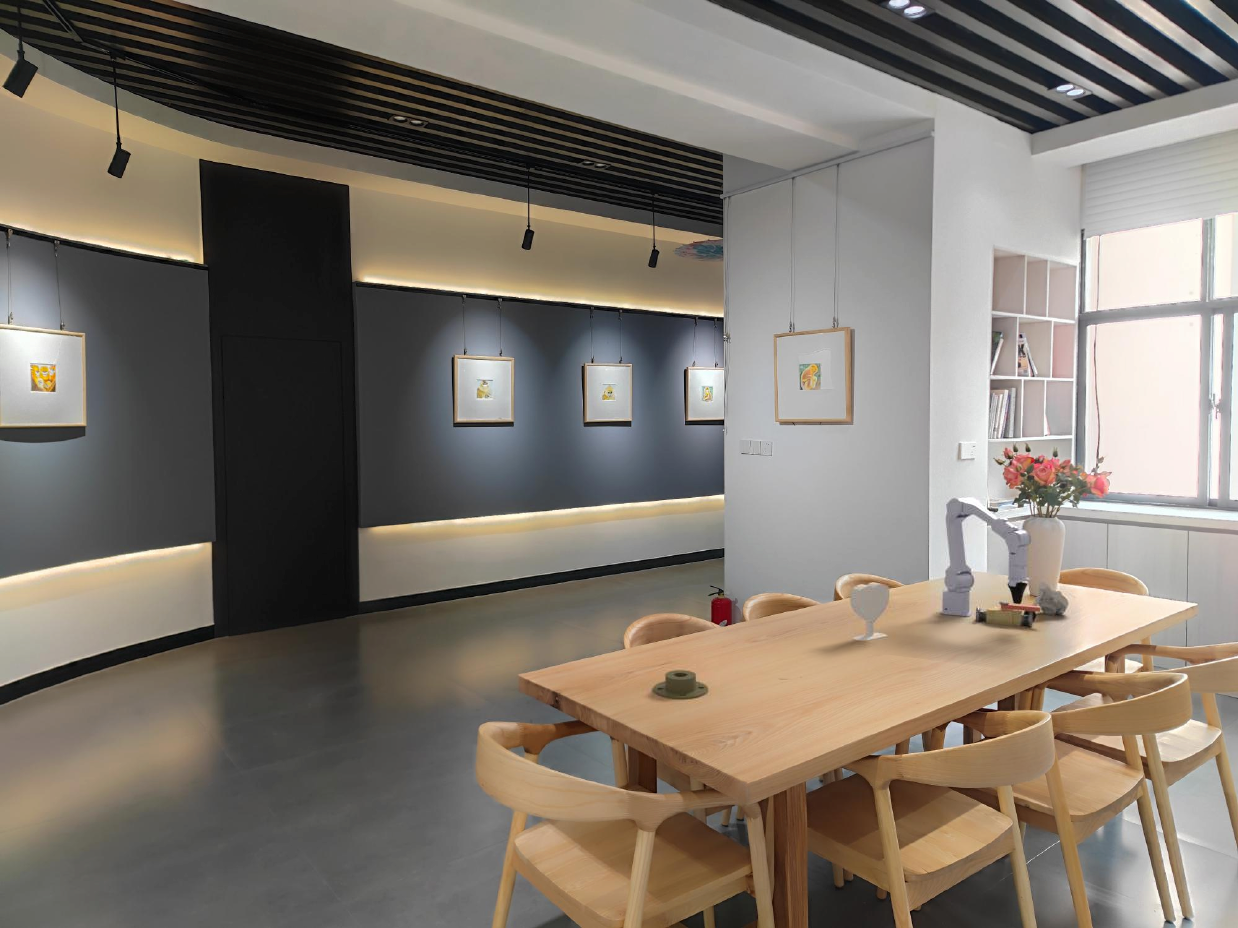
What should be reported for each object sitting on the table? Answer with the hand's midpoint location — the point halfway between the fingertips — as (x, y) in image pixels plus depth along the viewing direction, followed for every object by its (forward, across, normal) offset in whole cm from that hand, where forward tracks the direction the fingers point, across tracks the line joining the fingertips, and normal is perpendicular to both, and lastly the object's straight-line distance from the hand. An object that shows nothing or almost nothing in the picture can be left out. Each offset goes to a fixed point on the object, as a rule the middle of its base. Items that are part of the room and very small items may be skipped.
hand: (1017, 603), depth 282 cm
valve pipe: (+10, +5, +5) cm, 12 cm away
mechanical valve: (+9, +23, -4) cm, 25 cm away
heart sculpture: (+9, -41, +36) cm, 55 cm away
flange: (+9, -125, +55) cm, 137 cm away
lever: (+3, +6, +1) cm, 7 cm away
